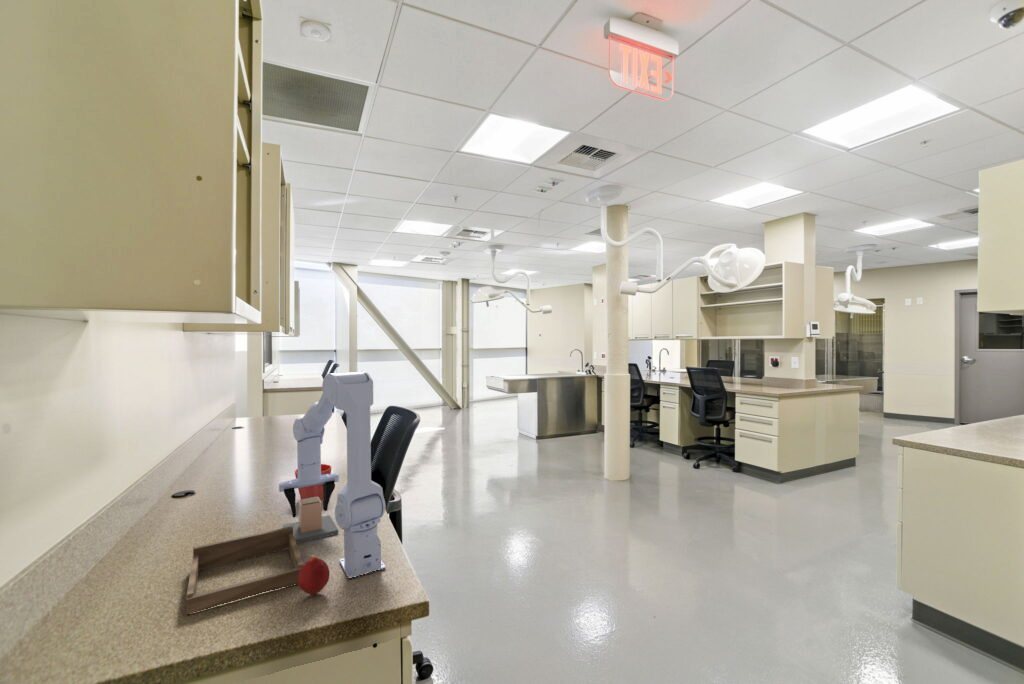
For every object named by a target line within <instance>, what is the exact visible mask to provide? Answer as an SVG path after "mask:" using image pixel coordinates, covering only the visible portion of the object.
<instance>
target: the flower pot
mask: <svg viewBox="0 0 1024 684" xmlns="http://www.w3.org/2000/svg"><path fill="white" fill-rule="evenodd" d="M325 474H332V465H330V464H326V463H321V475H325ZM294 475H295V479H297V478H298V468H296V469H295V471H294ZM297 489H298V490H297V491H298V494H299V497H300V500H301V499H306V498H311V497H319V499H320V500H321V499H322V500H323V484H319V485H313V486H307V487H302V488H297Z"/></svg>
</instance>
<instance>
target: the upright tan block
mask: <svg viewBox="0 0 1024 684" xmlns="http://www.w3.org/2000/svg"><path fill="white" fill-rule="evenodd" d="M297 506H298V522H299V528H300V531H301V533H303V532H308V531H312V530H317V529H321V528H322V517H323V515H322V514H323V513H322V511H323V501H321V500H320V499H319V497H311V498H306V499H301V498H300V500H298V505H297Z"/></svg>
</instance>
